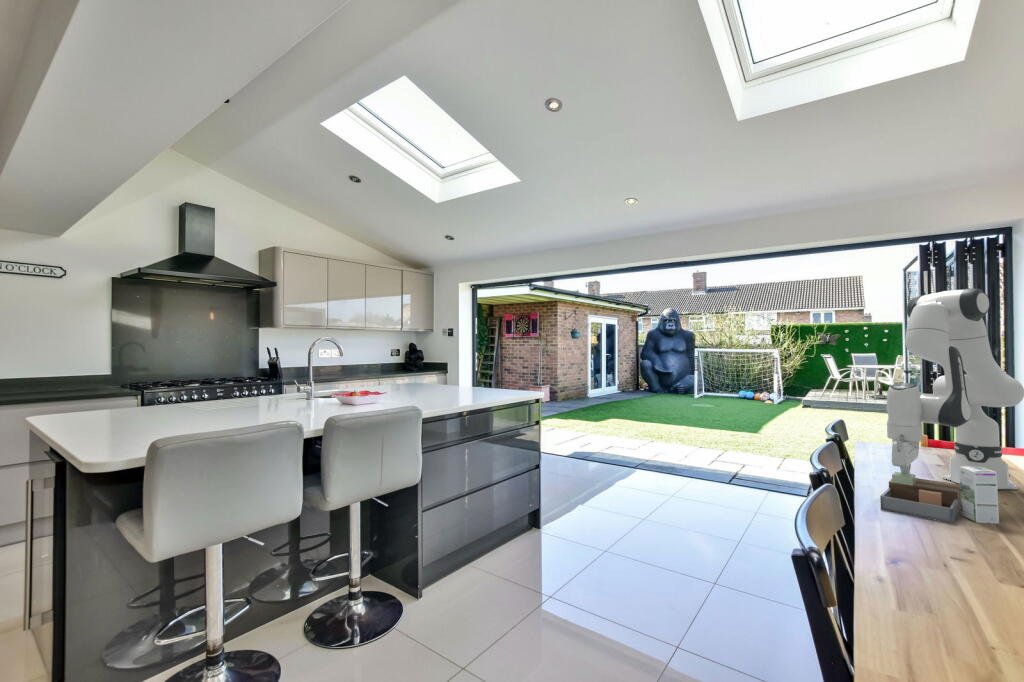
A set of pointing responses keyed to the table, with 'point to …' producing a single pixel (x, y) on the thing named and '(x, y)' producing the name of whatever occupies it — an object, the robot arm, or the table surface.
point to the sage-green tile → (903, 478)
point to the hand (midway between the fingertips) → (905, 476)
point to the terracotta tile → (930, 497)
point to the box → (918, 508)
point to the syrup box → (979, 494)
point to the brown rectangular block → (912, 492)
